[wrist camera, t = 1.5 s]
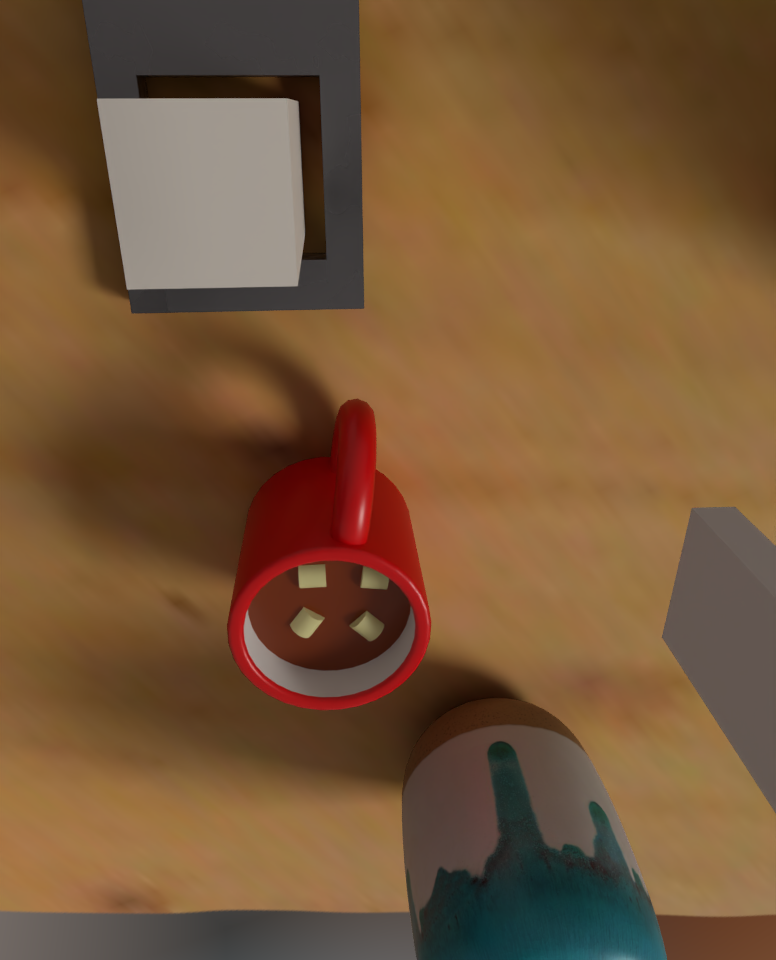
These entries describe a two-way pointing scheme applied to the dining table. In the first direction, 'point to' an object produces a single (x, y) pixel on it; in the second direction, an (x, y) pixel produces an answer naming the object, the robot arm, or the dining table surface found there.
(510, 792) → the vase
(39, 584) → the dining table surface
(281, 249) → the peg
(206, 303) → the grey slotted plate
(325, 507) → the mug
